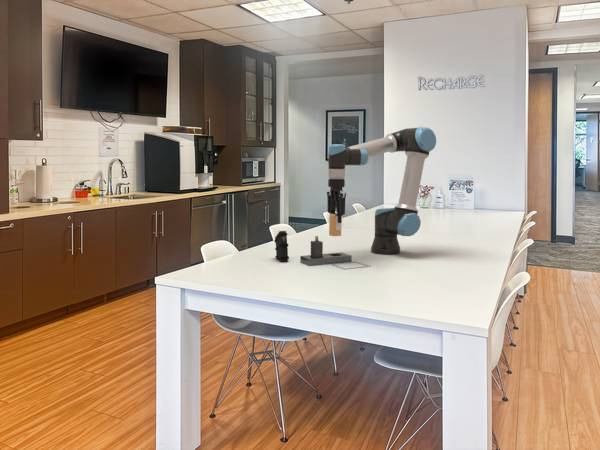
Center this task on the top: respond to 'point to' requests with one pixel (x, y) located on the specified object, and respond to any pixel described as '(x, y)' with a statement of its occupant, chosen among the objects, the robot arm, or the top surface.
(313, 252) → the twin plug
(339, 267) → the tray
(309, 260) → the slotted metal block
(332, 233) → the plug
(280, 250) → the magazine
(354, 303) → the top surface
